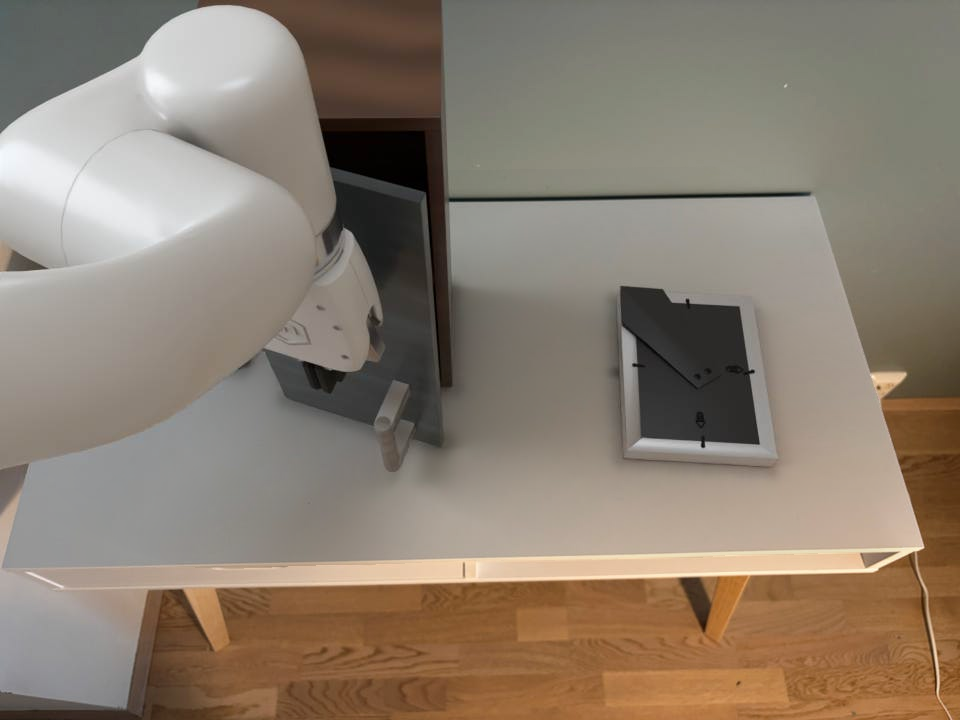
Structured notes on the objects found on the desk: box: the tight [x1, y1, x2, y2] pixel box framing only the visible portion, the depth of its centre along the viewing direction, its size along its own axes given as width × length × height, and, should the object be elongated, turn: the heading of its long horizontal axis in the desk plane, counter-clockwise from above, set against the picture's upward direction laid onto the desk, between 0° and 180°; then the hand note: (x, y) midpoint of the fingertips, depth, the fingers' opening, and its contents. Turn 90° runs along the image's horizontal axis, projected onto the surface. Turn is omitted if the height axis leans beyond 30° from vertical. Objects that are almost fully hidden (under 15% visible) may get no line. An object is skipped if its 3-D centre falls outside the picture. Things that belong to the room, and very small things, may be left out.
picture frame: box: [616, 285, 779, 468], centre depth 82 cm, size 16×3×21 cm
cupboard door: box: [262, 167, 445, 473], centre depth 63 cm, size 6×18×38 cm, turn 71°
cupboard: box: [196, 0, 454, 387], centre depth 69 cm, size 14×18×38 cm
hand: (329, 375), depth 59 cm, fingers closed
